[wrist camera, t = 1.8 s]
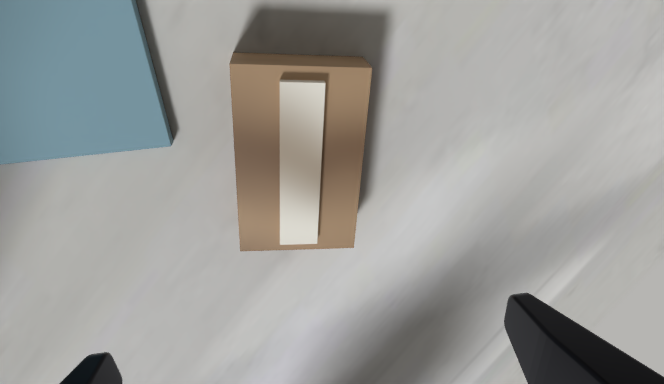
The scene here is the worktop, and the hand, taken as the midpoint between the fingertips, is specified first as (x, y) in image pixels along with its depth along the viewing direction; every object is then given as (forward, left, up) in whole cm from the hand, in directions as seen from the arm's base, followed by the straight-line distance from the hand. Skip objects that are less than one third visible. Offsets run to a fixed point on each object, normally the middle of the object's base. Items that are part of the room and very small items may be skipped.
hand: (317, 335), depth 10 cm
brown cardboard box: (0, 0, -11) cm, 11 cm away
